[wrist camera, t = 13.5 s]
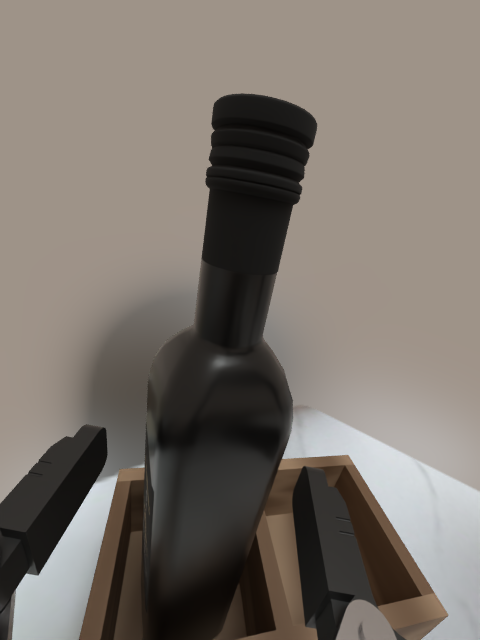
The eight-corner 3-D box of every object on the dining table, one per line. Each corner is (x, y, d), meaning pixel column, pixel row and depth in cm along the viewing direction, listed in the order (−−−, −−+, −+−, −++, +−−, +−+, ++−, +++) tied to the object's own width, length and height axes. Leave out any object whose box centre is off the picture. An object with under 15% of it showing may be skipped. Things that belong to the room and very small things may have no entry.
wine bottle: (143, 677, 16) (186, 12, 4) (140, 565, 21) (153, 105, 9) (229, 632, 18) (422, 124, 6) (208, 540, 23) (295, 150, 11)
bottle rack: (324, 504, 29) (348, 455, 25) (394, 662, 19) (448, 615, 16) (121, 527, 24) (119, 469, 20) (76, 758, 14) (59, 718, 11)
